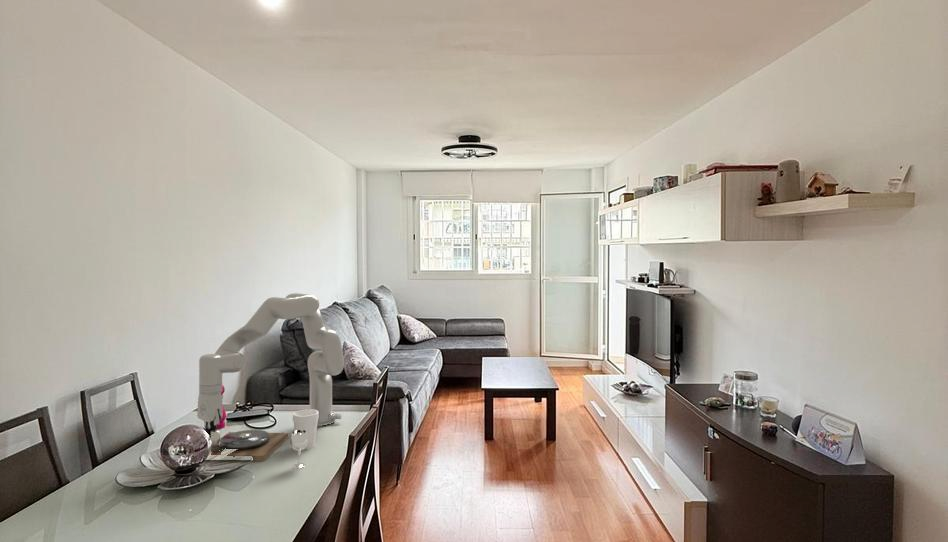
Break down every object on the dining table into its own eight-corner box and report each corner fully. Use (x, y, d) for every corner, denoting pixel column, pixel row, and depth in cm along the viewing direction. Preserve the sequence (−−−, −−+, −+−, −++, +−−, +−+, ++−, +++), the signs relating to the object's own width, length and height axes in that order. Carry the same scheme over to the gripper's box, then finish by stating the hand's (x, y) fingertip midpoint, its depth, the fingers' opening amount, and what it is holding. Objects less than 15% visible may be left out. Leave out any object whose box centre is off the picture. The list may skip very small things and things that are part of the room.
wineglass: (286, 467, 177) (286, 433, 177) (299, 461, 182) (299, 428, 182) (298, 470, 174) (298, 435, 174) (311, 464, 180) (311, 430, 179)
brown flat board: (288, 437, 206) (288, 432, 206) (263, 461, 182) (263, 455, 182) (224, 437, 206) (224, 431, 206) (191, 460, 182) (191, 454, 182)
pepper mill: (220, 430, 215) (221, 382, 214) (203, 429, 215) (203, 382, 215) (229, 424, 222) (229, 378, 222) (213, 424, 222) (213, 378, 222)
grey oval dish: (253, 430, 206) (253, 413, 206) (278, 439, 196) (278, 421, 196) (199, 446, 189) (199, 427, 188) (224, 456, 179) (224, 437, 179)
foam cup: (287, 449, 194) (287, 415, 194) (301, 441, 203) (301, 408, 203) (310, 451, 192) (310, 417, 191) (323, 443, 201) (323, 410, 200)
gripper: (190, 387, 189) (190, 436, 189) (210, 393, 180) (210, 445, 180) (211, 383, 195) (211, 431, 195) (231, 389, 186) (231, 440, 186)
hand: (210, 438), depth 187 cm, fingers closed
